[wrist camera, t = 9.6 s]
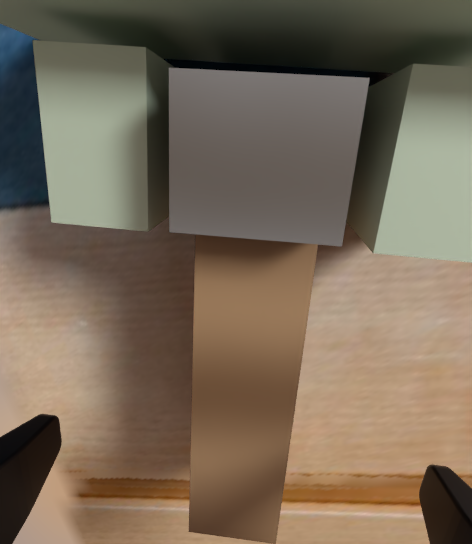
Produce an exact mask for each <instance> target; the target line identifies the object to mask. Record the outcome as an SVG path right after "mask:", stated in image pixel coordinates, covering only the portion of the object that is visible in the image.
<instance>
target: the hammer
mask: <svg viewBox="0 0 472 544" xmlns="http://www.w3.org/2000/svg"><path fill="white" fill-rule="evenodd" d="M369 80H370V78H362V77H342V76H323V75H303V74H284V73H264V72H245V71H225V70H206V69H186V68H169V232H173V233H185V234H195V276H194V322H193V367H192V413H191V458H190V504H189V532H194V533H202V534H209V535H216V536H223V537H230V538H237V539H244V540H251V541H259V542H266V543H273V544H276V538H277V531H278V524H279V517H280V510H281V503H282V496H283V489H284V482H285V475H286V467H287V460H288V453H289V446H290V439H291V432H292V425H293V418H294V411H295V404H296V397H297V390H298V383H299V376H300V369H301V362H302V355H303V348H304V340H305V333H306V326H307V319H308V312H309V305H310V298H311V291H312V284H313V277H314V270H315V263H316V256H317V249H318V245H330V246H342V243H343V237H344V231H345V225H346V219H347V213H348V207H349V201H350V195H351V188H352V182H353V176H354V170H355V164H356V158H357V152H358V146H359V140H360V134H361V128H362V122H363V116H364V110H365V104H366V98H367V92H368V86H369Z"/></svg>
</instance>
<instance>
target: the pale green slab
mask: <svg viewBox="0 0 472 544" xmlns="http://www.w3.org/2000/svg"><path fill="white" fill-rule="evenodd" d="M0 24H3V25H5V26H8V27H10V28H12V29H15V30H17V31H20V32H22V33H24V34H27V35H29V36H32V37H34V38H36V39H39V40H41V41H38V40H33V50H34V59H35V69H36V79H37V88H38V98H39V107H40V117H41V127H42V136H43V146H44V155H45V165H46V175H47V184H48V194H49V204H50V213H51V223H62V224H72V225H83V226H93V227H104V228H114V229H125V230H135V231H146V232H148V231H150V230H151V229H152V228H154V227H155V226H156V225H158V224H159V223H160V222H162V221H163V220H164V219H166V218H167V217H168V216H169V68H175V67H174V66H172V65H171V64H169V63H168V62H166V61H165V60H164V59H175V60H191V61H207V62H223V63H238V64H254V65H270V66H286V67H302V68H317V69H333V70H349V71H365V72H380V73H395V74H393V75H391V76H389V77H387V78H385V79H383V80H381V81H379V82H378V83H376V84H374V85H372V86H370V87H368V92H367V98H366V104H365V110H364V116H363V122H362V128H361V134H360V140H359V146H358V152H357V158H356V164H355V170H354V176H353V182H352V188H351V195H350V201H349V207H348V213H347V219H346V222H347V223H348V224H349V225H350V226H351V228H352V229H353V230H354V231H355V232H356V233H357V235H358V236H359V237H360V238H361V239H362V240H363V242H364V243H365V244H366V245H367V246H368V248H369V249H370V250H371V251H372V252H373V253H377V254H387V255H398V256H408V257H419V258H429V259H440V260H450V261H461V262H471V263H472V0H0Z"/></svg>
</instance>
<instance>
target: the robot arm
mask: <svg viewBox="0 0 472 544" xmlns="http://www.w3.org/2000/svg"><path fill="white" fill-rule="evenodd" d="M61 442H62V440H61V432H60V423H59V418H58V417H57V416H55V415H48V414H40V415H38V416H36V417H34V418H33V419H31V420H29V421H27V422H26V423H24V424H22V425H20V426H19V427H17V428H15V429H14V430H12V431H10V432H9V433H7V434H5V435H3V436H2V437H0V544H12V543H13V541H14V540H15V538H16V536H17V535H18V533H19V531H20V529H21V528H22V526H23V524H24V523H25V521H26V519H27V517H28V515H29V514H30V512H31V510H32V508H33V506H34V504H35V502H36V499H37V497H38V495H39V493H40V491H41V489H42V487H43V485H44V483H45V480H46V478H47V476H48V474H49V472H50V470H51V468H52V466H53V464H54V461H55V459H56V457H57V455H58V453H59V451H60V448H61ZM419 498H420V503H421V507H422V512H423V516H424V520H425V524H426V529H427V533H428V537H429V541H430V544H472V488H471V487H470V486H468V485H467V484H466V483H465V482H464V481H463V480H462V479H461V478H460V477H459V476H458V475H457V474H455V473H454V472H453V471H452V470H451V469H450V468H448V467H446V466H439V465H429V466H428V467H427V469H426V472H425V475H424V478H423V481H422V484H421V487H420V491H419Z"/></svg>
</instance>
